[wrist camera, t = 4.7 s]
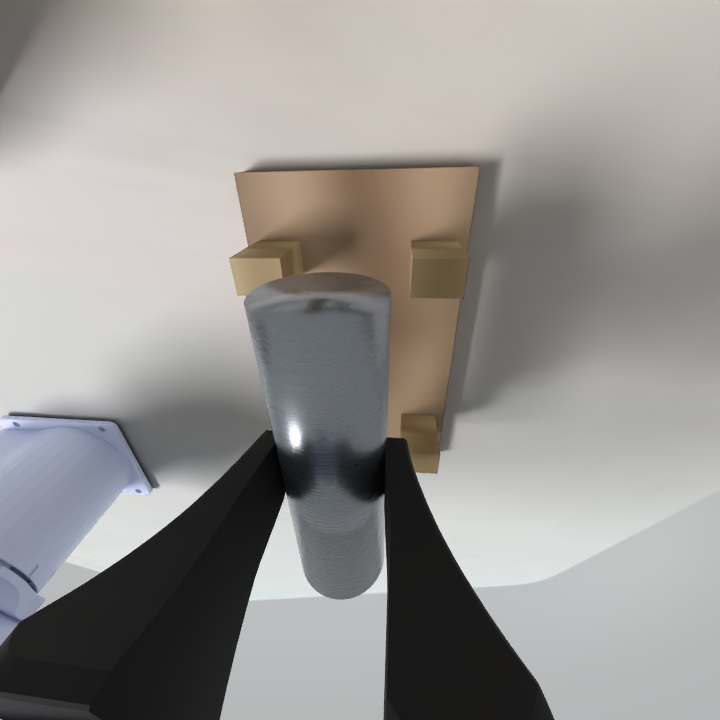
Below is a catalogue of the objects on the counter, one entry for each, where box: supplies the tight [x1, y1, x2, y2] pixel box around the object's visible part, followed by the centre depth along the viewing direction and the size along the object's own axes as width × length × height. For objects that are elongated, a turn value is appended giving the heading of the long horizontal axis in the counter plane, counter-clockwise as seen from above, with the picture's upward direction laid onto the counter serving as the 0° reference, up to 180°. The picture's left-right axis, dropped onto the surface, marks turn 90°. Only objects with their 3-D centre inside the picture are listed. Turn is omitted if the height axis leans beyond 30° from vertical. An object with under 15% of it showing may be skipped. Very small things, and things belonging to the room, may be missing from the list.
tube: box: [244, 272, 391, 599], centre depth 11 cm, size 4×12×4 cm, turn 1°
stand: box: [229, 166, 480, 474], centre depth 17 cm, size 10×17×4 cm, turn 1°
